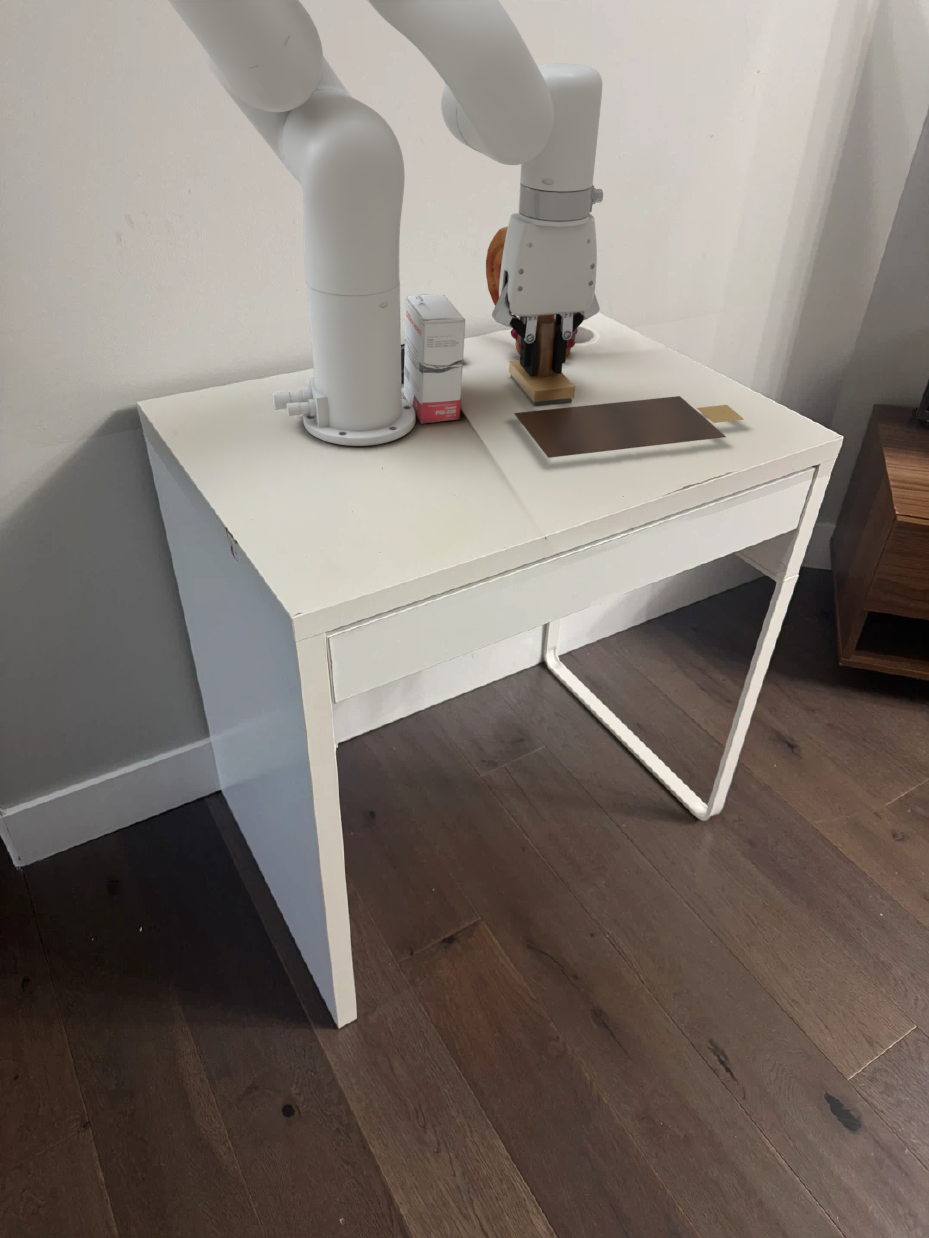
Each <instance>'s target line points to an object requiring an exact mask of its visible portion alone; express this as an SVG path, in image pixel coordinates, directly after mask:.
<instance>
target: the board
mask: <svg viewBox="0 0 929 1238" xmlns="http://www.w3.org/2000/svg"><path fill="white" fill-rule="evenodd" d="M514 415H515V417H516V418H517V419H518V421H519V422H520V423H521V424H522V426H523V428H525V430H526V431H527V432H528V434H529V435H530V436H531V438H532V439H533V440H534V441H535V443H536V444H537V445H538V447H539V448H540V449H541V451H542V452H543V454H544V455H545V456H546V457H547V458H548V459H550V458H560V457H566V456H575V455H576V456H577V455H584V454H593V453H601V452H609V451H620V450H628V449H636V448H637V449H638V448H644V447H653V446H662V445H671V444H678V443H679V444H680V443H688V442H697V441H705V440H711V439H721V438H727V436H726V435H725V434H724V433H723V432H722V431H721V430H719V429H718V428H717V427H716V426H715V425H714V424H713V423H711V422H710V421H709V419H708V418H706V417H704V416H703V414H702V413H701V412H700V411H697V410H696V408H694V407H693V406H692V405H691V404H690V403H688V402H687V401H686V400H685V399H684V398H683V397H681V396H680V395H677V396H667V397H658V398H657V397H656V398H648V399H637V400H628V401H617V402H609V403H600V404H599V403H597V404H589V405H580V406H567V407H559V408H551V409H550V408H549V409H541V410H530V411H521V412H514Z"/></svg>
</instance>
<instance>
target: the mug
mask: <svg viewBox="0 0 929 1238" xmlns="http://www.w3.org/2000/svg"><path fill="white" fill-rule="evenodd" d="M507 229H508V226H504V227H502V228H499V229H498V231H496V232H495V234H494V236H493V237H492V239H491V241H490V242H489V246H488V248H487V251H486V252H487V253H486V258H485V278H486V284H487V289H488V292H489V295H490V298H491V300H492V303H493V304H494V307H495V306H496V304H497V302H498V300H499V282H500V272H501V264H502V256H503V250H504V244H505V239H506V233H507ZM505 283H506V282H505ZM509 313H510V314H512V315H513V313H511V311H510V310H509ZM540 316H549V317H553V318H554V314H551V315H539V316H538V317H540ZM517 317H518V318H519V316H517ZM578 332H579V331H578V327H577V328H576V329H575V331H574V332H573V333H572V337H571V338H570V339H569V340H567V349H566V358H568V357H569V356H570V353H571V349H572V348H574V347H575V345H576V336H577V334H578ZM510 335H511V337H512V338H513V340H515V342H514V343H515V344H514V346H515V350H516V352H517V354H518V355H519V356H520V345H521V336H520V335H519V334H518V333H517V332H516V331H515V330H514V329H513V328H511V330H510Z"/></svg>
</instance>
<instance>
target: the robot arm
mask: <svg viewBox="0 0 929 1238" xmlns="http://www.w3.org/2000/svg"><path fill="white" fill-rule="evenodd" d="M366 1H367V2H368V4H370V6H371V7H372V8H373V9H374V10H375V11H376V13H378V14H379V16H380V17H381V18H382V19H383V20H385V22H386V23H388V24H389V25H390V26H391V27H393V28H394V29H395V30H396V31H398V32H399V33H400V34H401V35H402V36H404V37H405V38H406V39H407V40H408V41H409V42H410V43H412V44H413V46H414V47H416V48H417V50H418V51H419V52H420V53H421V54H422V56H424V58H426V60H427V61H428V62H429V63H430V65H431V66H432V67H433V68H434V69H435V71H436V72H437V74H438V75H439V77H440V78H441V79H442V80H443V82H444V84H445V86H443V87H444V88H443V90H442V95H441V100H440V107H441V109H440V110H441V115H442V119H443V121H444V123H445V126H446V127H447V129H448V131H449V132H450V133H451V134H452V136H453V137H454V138H455V139H457V140H458V141H459V142H460V143H462V144H463V145H465V146H467V147H469V148H470V149H472V150H474V151H475V152H477V153H480V154H482V155H484V156H486V157H488V158H489V159H491V160H493V161H495V162H497V163H499V164H501V165H506V166H519V165H520V177H519V178H520V179H519V180H520V181H519V198H518V199H519V200H518V201H519V202H518V213H517V212H515V213H512V214H510V218H509V222H508V224H507V227H508V229H507V233H506V239H505V244H504V250H503V256H502V264H501V272H500V282H499V300H498V302H497V304H496V306H495V305H494V308H493V310H492V313H491V317H492V319H494V321H495V322H497V323H499V324H501V325H503V326H506V327H508V328H510V329H514V330H515V331H516V332H517V333H518V334H519V335H520V336H521V345H520V355H519V360H520V365H521V366H522V367H523V369H524V370H525V371H526V372H527V373H528V374H529V375H530V376H535V375H537V366H538V353H539V344H538V342H537V341H536V336H535V335H536V326H537V318H538V316H539V315H551V314H554V318H555V319H556V328H555V339H554V351H553V363H552V371H553V372H554V373H556V374H561V372H562V373H563V364H565V363H566V358H567V357H566V349H567V340H569V339H570V338H571V337H572V333H573V332H574V331H575V329H576V328H577V329H578V328H579V326H580V325H581V324H583V322H584V321H586V320H588V319H590V318H591V317H593V316H595V315H597V314H598V313H599V312H600V305H599V302H598V299H597V296H596V293H595V292H596V282H597V264H598V262H597V261H598V252H597V251H598V250H597V247H598V246H597V231H596V230H597V229H596V221H595V217H594V215H592V214H591V213H592V212H593V211H592V210H593V205H595V204H597V203H599V204H600V203H602V202H603V199H604V191H603V189H602V188H596V187H595V185H593V184H594V174H595V165H596V155H597V146H598V136H599V127H600V126H599V125H600V115H601V108H602V107H601V106H602V98H603V97H602V96H603V80H602V79H603V78H602V75H601V74H600V72H599V71H598V69H596V68H594V67H592V66H590V65H584V64H579V63H566V62H565V63H564V62H563V63H561V62H559V63H557V62H554V63H545V64H540V65H537V63H536V61H535V59H534V57H533V56H532V54H531V52H530V50H529V48H528V46H527V44H526V42H525V40H524V39H523V37H522V34H520V32H519V30H518V28H517V26H516V25H515V23H514V21H513V20H512V18H511V16H510V15H509V14H508V13H507V10H506V9H505V8H504V7H503V5H502V4H501V2H500V1H499V0H366ZM168 2H169V3H170V5H171V6H172V8H173V9H174V11H175V12H176V13H177V15H179V17H180V18H181V20H182V21H183V22H184V24H185V25H186V26H187V28H188V29H189V30H190V32H191V33H192V34H193V35H194V37H195V38H196V40H197V41H198V42H199V44H200V46H201V50H202V54H203V56H204V60H205V61H206V63H207V65H208V68H209V69H210V71H211V72H212V74H213V75H214V77H215V78H216V80H217V81H218V82H219V84H220V85H221V86H222V88H223V89H224V90H225V91H226V93H227V94H228V96H229V97H230V98H231V99H232V101H233V102H234V104H236V106H237V107H238V108H239V110H240V111H241V113H242V114H243V115H244V116H245V117H246V118H247V120H248V121H249V123H251V125H252V126H253V128H254V129H255V130H256V131H257V133H258V134H259V135H260V136H261V137H262V139H263V140H264V142H265V143H266V144H267V145H268V146H269V148H270V149H271V151H272V152H273V153H274V154H275V155H276V156H277V159H279V160H280V162H281V163H282V164H283V165H284V167H285V168H286V170H288V172H289V173H290V174H291V175H292V176H293V178H294V179H295V180H297V182H298V183H299V184H300V185H301V189H302V199H303V202H302V203H303V225H302V226H303V227H302V228H303V232H302V233H303V234H302V235H303V238H302V239H303V259H304V260H303V262H304V263H303V264H304V273H305V274H304V275H305V283H306V291H307V306H308V317H309V330H310V331H309V332H310V340H311V355H312V367H313V368H312V369H313V377H308V385H307V386H301V387H300V390H293V391H289V390H282V391H281V390H279V391H272V393H271V395H272V404H273V409H274V411H277V410H278V411H279V410H286V411H287V417H295V416H300V415H302V420H303V421H302V422H303V426H304V428H305V430H306V431H307V432H308V433H309V434H311V435H312V436H314V437H315V438H317V439H319V440H322V441H323V442H326V443H331V444H333V445H340V446H350V447H367V446H368V447H369V446H376V445H381V444H386V443H389V442H393V441H396V440H398V439H400V438H402V437H404V436H405V435H407V434H408V433H410V432H411V431H412V429H414V427H415V425H416V418H417V416H416V413H415V409H414V407H413V406H412V405H411V404H410V403H409V402H408V401H407V399H406V398H403V397H402V396H403V395H402V394H403V393H402V391H403V390H402V389H403V388H402V382H401V345H402V334H401V333H402V332H401V330H402V329H401V326H402V325H401V324H402V323H401V322H402V321H401V280H400V279H401V278H400V277H401V276H400V237H401V236H400V235H401V221H402V211H403V204H404V203H403V202H404V195H405V194H404V193H405V179H406V177H405V176H406V175H405V174H406V173H405V161H404V156H403V151H402V149H401V146H400V142H399V140H398V138H397V136H396V134H395V132H394V130H393V129H392V127H391V126H390V125H389V123H388V122H387V121H386V120H385V118H384V117H383V116H382V115H381V114H379V113H378V112H377V111H376V110H374V108H372V107H370V106H368V105H367V104H365V103H364V102H362V101H360V100H358V99H356V98H354V97H353V96H352V95H351V94H350V92H349V91H348V89H347V88H346V87H345V85H344V84H343V83H342V80H341V79H340V78H339V77H338V75H337V74H336V72H335V71H334V69H333V68H332V66H331V65H330V64H329V62H328V60H327V59H326V57H325V56H324V51H323V45H322V41H321V38H320V35H319V32H318V31H319V30H318V28H317V27H316V24H315V23H314V20H313V19H312V17H311V15H310V14H309V12H308V10H307V9H306V8H305V7H304V5H303V4H302V2H301V1H300V0H168ZM505 282H506V283H505ZM509 310H510V311H511V313H512V314H510V313H509ZM518 317H519V318H518Z"/></svg>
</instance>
